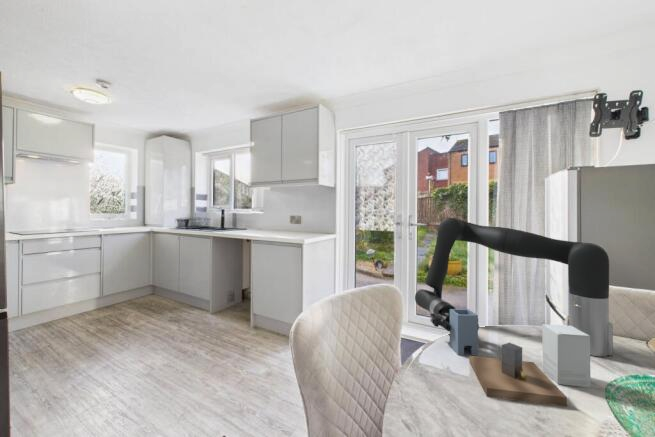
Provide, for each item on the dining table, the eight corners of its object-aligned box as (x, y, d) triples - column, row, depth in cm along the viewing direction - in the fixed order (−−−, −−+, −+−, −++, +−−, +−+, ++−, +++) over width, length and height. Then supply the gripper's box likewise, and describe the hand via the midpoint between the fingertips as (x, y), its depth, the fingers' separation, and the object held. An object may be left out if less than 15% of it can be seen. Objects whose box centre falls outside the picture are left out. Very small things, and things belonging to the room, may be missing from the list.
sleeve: (449, 346, 94) (449, 309, 94) (468, 346, 94) (468, 309, 94) (458, 355, 88) (457, 315, 88) (477, 355, 88) (477, 315, 88)
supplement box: (591, 388, 70) (591, 336, 70) (557, 384, 72) (556, 333, 72) (572, 372, 78) (572, 325, 78) (541, 369, 79) (541, 323, 79)
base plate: (533, 369, 79) (533, 362, 79) (567, 406, 64) (567, 397, 64) (469, 362, 83) (469, 355, 83) (486, 396, 67) (486, 387, 67)
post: (518, 370, 75) (518, 343, 75) (526, 380, 70) (526, 351, 70) (498, 368, 76) (498, 341, 76) (505, 378, 71) (505, 349, 71)
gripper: (423, 301, 107) (440, 316, 91) (462, 301, 107) (486, 316, 91) (423, 321, 107) (440, 340, 91) (462, 321, 107) (486, 340, 91)
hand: (463, 328), depth 91 cm, fingers open, 8 cm apart
